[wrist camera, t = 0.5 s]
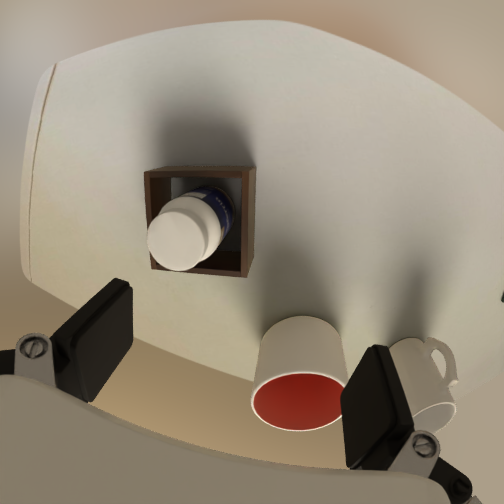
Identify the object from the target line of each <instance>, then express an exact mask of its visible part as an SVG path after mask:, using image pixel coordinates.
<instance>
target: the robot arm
mask: <svg viewBox="0 0 504 504" xmlns="http://www.w3.org/2000/svg"><path fill="white" fill-rule="evenodd" d="M132 343H133V289H132V287H130V284H129V282H127V281H124V280H121V279H118V278H114V279H113V280H112V281H110V282H109V283H108V284H107V285H106V286H105V287H104V288H102V289H101V290H100V291H99V292H98V293H97V294H96V295H95V296H93V297H92V298H91V299H90V300H89V301H88V302H87V303H86V304H85V305H84V306H82V307H81V308H80V309H79V310H78V311H77V312H76V313H75V314H74V315H73V316H72V317H71V318H69V319H68V320H67V321H66V322H65V323H64V324H63V325H62V326H61V327H60V328H59V329H58V330H57V331H56V332H55V333H54V334H53V335H52V336H51V337H50V338H48V337H47V336H45V335H44V334H41V333H31V334H27V335H25V336H23V337H22V338H20V339H19V341H18V342H17V344H16V349H12V350H2V351H0V504H482V503H481V502H480V501H479V499H478V498H477V497H476V496H473V497H472V496H471V495H472V484H471V481H470V480H469V478H468V477H467V476H466V475H464V474H463V473H461V472H460V471H458V470H457V469H456V468H454V467H453V466H451V465H450V464H449V463H447V462H446V461H444V460H443V459H441V458H440V457H439V454H440V444H439V441H438V440H437V438H436V437H435V436H434V435H433V434H432V433H430V432H428V431H425V430H417V431H415V428H414V425H415V424H414V421H413V417H412V414H411V411H410V408H409V405H408V402H407V399H406V396H405V393H404V390H403V387H402V384H401V381H400V378H399V375H398V372H397V369H396V367H395V364H394V361H393V359H392V356H391V353H390V351H389V348H388V347H387V346H382V345H376V344H374V345H373V346H372V347H368V348H367V350H366V351H365V353H364V355H363V357H362V359H361V360H360V362H359V364H358V366H357V367H356V369H355V371H354V373H353V374H352V376H351V378H350V379H349V381H348V383H347V384H346V386H345V387H344V389H343V391H342V393H341V396H340V405H341V414H342V422H343V433H344V443H345V454H346V465H347V467H348V468H350V470H346V469H329V468H315V467H305V466H297V465H289V464H281V463H275V462H269V461H263V460H257V459H252V458H247V457H242V456H237V455H232V454H228V453H224V452H220V451H216V450H212V449H208V448H205V447H200V446H197V445H194V444H190V443H187V442H184V441H181V440H178V439H174V438H171V437H168V436H165V435H162V434H160V433H157V432H154V431H151V430H148V429H146V428H143V427H141V426H138V425H135V424H133V423H130V422H128V421H126V420H123V419H121V418H119V417H116V416H114V415H112V414H110V413H107V412H105V411H103V410H101V409H98V408H96V407H94V406H92V405H90V404H88V402H92V401H93V400H94V399H95V398H96V396H97V395H98V393H99V392H100V390H101V389H102V387H103V386H104V384H105V383H106V382H107V380H108V379H109V377H110V376H111V374H112V373H113V371H114V370H115V369H116V367H117V366H118V364H119V363H120V362H121V360H122V359H123V357H124V356H125V354H126V353H127V352H128V350H129V349H130V347H131V345H132Z"/></svg>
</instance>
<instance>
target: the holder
mask: <svg viewBox="0 0 504 504" xmlns="http://www.w3.org/2000/svg"><path fill="white" fill-rule="evenodd" d="M171 177H217V178H242V203H241V251H226V250H215V251H214V252H213V253H212V254H211V255H210V256H209V257H208V258H206V259H204V260H202V261H200V262H198V263H197V264H196V265H195V266H194V267H192V268H190V269H188V270H184V271H175V272H186V273H197V274H208V275H220V276H232V277H244V278H247V276H248V273H249V270H250V267H251V264H252V261H253V258H254V231H255V193H256V167H254V166H165V167H161V168H157V169H153V170H149V171H145V172H144V187H145V204H146V218H147V230H148V228H149V226H150V224H151V222H152V221H153V220H154V219H155V218H156V217H157V216H158V215H159V213H160V211H161V209H162V208H163V207H164V206H165V205H166V204H167V203H168V202H170V201H171ZM149 251H150V250H149ZM150 260H151V268H152V269H157V270H165V271H174V270H170V269H167V268H165V267H164V266H162V265H161V264H159V263H158V262H157V261H156V260H155V259H154V257H153V256H152V254H151V252H150Z"/></svg>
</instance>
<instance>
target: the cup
mask: <svg viewBox="0 0 504 504" xmlns="http://www.w3.org/2000/svg"><path fill="white" fill-rule="evenodd" d="M348 381H349V379H348V373H347V368H346V362H345V357H344V351H343V346H342V341H341V338H340V336H339V334H338V332H337V331H336V330H335V329H334V328H333V327H332V326H331V325H330V324H329V323H327V322H325V321H323V320H321V319H319V318H315V317H310V316H295V317H290V318H287V319H284V320H282V321H280V322H278V323H276V324H275V325H273V326H272V327H271V328H270V329H269V330H268V331H267V332H266V334H265V335H264V337H263V339H262V341H261V344H260V350H259V356H258V361H257V367H256V372H255V378H254V383H253V390H252V394H251V407H252V409H253V411H254V413H255V414H256V415H257V416H258V417H259V418H260V419H261V420H262V421H264V422H265V423H267V424H269V425H271V426H273V427H276V428H279V429H283V430H289V431H308V430H314V429H319V428H322V427H325V426H327V425H329V424H331V423H333V422H335V421H336V420H338V419H339V418H340V417H342V414H341V405H340V396H341V393H342V391H343V389H344V387H345V386H346V384H347V383H348Z"/></svg>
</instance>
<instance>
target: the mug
mask: <svg viewBox="0 0 504 504" xmlns="http://www.w3.org/2000/svg"><path fill="white" fill-rule="evenodd" d="M435 349H437V350H439V351H440V352H441V353H442V354H443V356H444V358H445V361H446V374H445V377H444V379H443V378H442V376H441V374H440V372H439V370H438V368H437V366H436V364H435V362H434V360H433V359H432V357H431V353H432V352H433V350H435ZM389 351H390V353H391V356H392V359H393V361H394V364H395V367H396V369H397V372H398V375H399V378H400V381H401V384H402V387H403V390H404V393H405V396H406V399H407V402H408V405H409V408H410V411H411V414H412V417H413V421H414V424H415V425H414V428H415V431H417V430H425V431H428V432H430V433H432V434H434V433H436V432H437V431H439V430H441V429H442V428H443V427H445V426H446V425H447V424H448V423H449V422H450V421H451V420H452V419H453V417H454V416H455V414H456V411H457V406H456V404H455V402H454V400H453V398H452V395H451V393H450V391H449V387H453V386H454V385H455V384H456V383H457V382H458V378H457V372H456V363H455V359H454V355H453V353H452V351H451V349H450V348H449V347H448V346H447V345H446V344H445V343H443V342H441V341H439V340H437V339H435V338H432V337H429V338H427V340H426V341H425V343H423V342H422V341H421V340H419V339H417V338H406V339H403V340H401V341H399V342H397V343H395V344H394V345H393V346H392V347H390V349H389Z"/></svg>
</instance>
